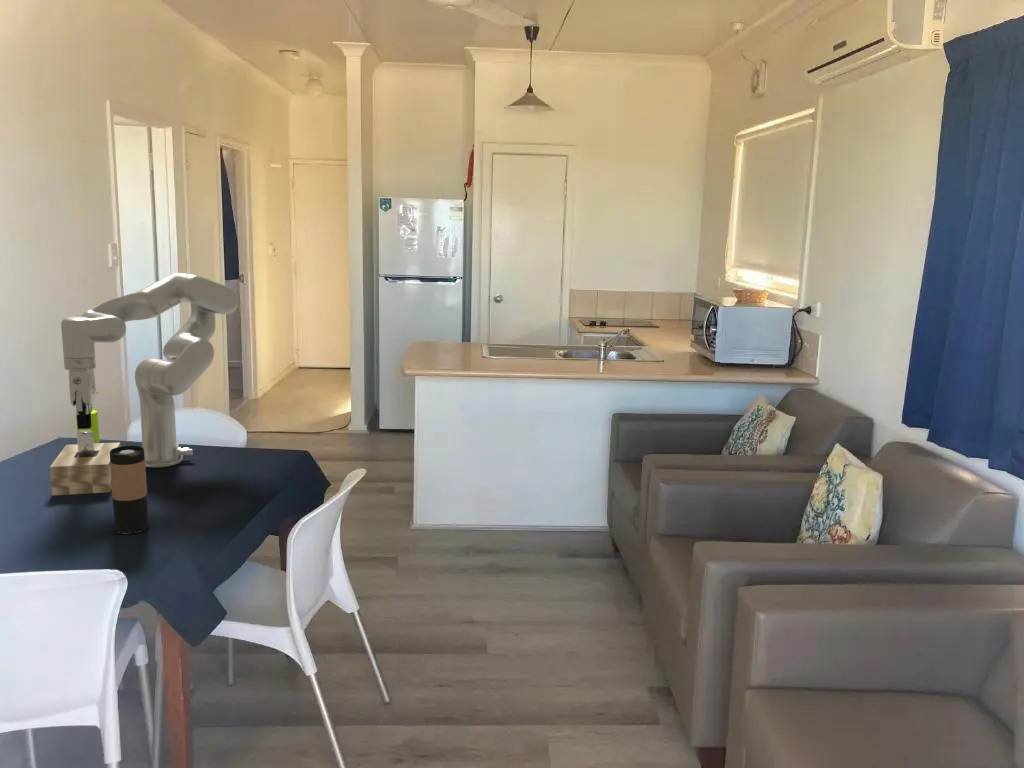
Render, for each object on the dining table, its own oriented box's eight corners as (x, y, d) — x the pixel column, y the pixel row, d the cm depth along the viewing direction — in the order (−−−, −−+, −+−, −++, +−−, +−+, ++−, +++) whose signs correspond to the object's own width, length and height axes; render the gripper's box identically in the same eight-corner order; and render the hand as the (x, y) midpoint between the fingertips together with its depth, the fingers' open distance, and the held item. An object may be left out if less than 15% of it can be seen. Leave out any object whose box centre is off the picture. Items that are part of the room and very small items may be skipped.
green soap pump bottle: (97, 456, 248) (93, 392, 244) (75, 455, 248) (70, 391, 244) (107, 450, 254) (103, 388, 249) (85, 449, 254) (80, 387, 249)
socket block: (121, 468, 238) (120, 442, 237) (110, 492, 220) (108, 464, 218) (68, 471, 234) (66, 444, 232) (52, 495, 216) (49, 466, 214)
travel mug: (121, 522, 201) (116, 445, 196) (153, 522, 201) (149, 445, 197) (109, 534, 193) (103, 454, 189) (142, 535, 194) (137, 455, 189)
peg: (96, 453, 228) (94, 429, 226) (93, 458, 224) (91, 433, 222) (80, 454, 227) (78, 430, 225) (77, 458, 223) (75, 434, 221)
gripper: (89, 368, 214) (94, 435, 218) (100, 357, 228) (104, 420, 232) (58, 368, 211) (63, 436, 215) (70, 357, 225) (75, 421, 229)
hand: (84, 427), depth 224 cm, fingers closed
